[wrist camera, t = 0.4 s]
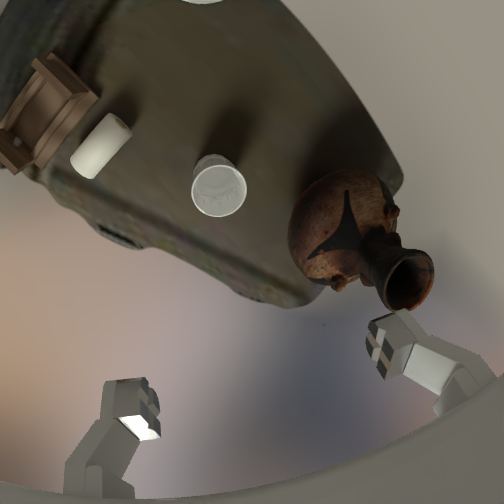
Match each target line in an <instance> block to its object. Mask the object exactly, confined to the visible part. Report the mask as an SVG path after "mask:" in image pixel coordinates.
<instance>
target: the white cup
mask: <svg viewBox="0 0 504 504" xmlns="http://www.w3.org/2000/svg"><path fill="white" fill-rule="evenodd" d="M246 193H247V186H246V182H245V179H244V177H243V176H242V174H241V173H240V172H239V171H238V170H237V168H236V167H235V166H234V165H233V164H232V163H231V162H230V161H229V160H227V159H226V158H225V157H224V156H222V155H218V154H211V155H206V156H204V157H203V158H202V159H200V160H199V161H198V162H197V164H196V166H195V168H194V173H193V179H192V199H193V201H194V203H195V205H196V207H197V208H198V209H199V210H200V211H202V212H203V213H205V214H207V215H209V216H214V217H222V216H226V215H229V214H231V213H233V212H235V211H236V210H237V209H238V208H239V207H240V206H241V205H242V204H243V202H244V200H245V197H246Z"/></svg>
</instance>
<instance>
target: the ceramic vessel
mask: <svg viewBox="0 0 504 504" xmlns="http://www.w3.org/2000/svg"><path fill="white" fill-rule="evenodd" d="M399 212H400V209H399V208H398V206H397V205H395V203H394V200H393V197H392V195H391V193H390V191H389V189H388V188H387V186H386V185H385V183H384V182H383V181H382V180H381V179H379V177H378V176H377V175H375V174H374V173H372V172H370V171H367V170H364V169H357V168H351V169H341V170H337V171H334V172H332V173H330V174H328V175H326V176H324V177H322V178H320V179H318V180H317V181H315V182H314V183H313V184H311V185H310V186H309V187H308V188H307V189H306V190H304V191H303V192H302V194H301V195H300V196H299V197H298V199H297V201H296V203H295V206H294V209H293V212H292V215H291V218H290V221H289V226H288V247H289V251H290V254H291V256H292V259H293V261H294V262H295V264H296V266H297V267H298V268H299V269H300V271H301V272H302V273H303V274H304V275H305V276H306V277H307V278H308V279H309V280H310V281H312V282H314V283H317V284H320V285H328V286H329V285H330V286H331V288H332V289H333V290H336V291H337V292H341V291H343V289H344V288H345V286H346V284H347V283H350V282H353V281H355V280H357V279H359V278H360V279H361V282H362V284H363V285H364V286H369V287H372V286H375V287H376V289H377V292H378V294H379V297H380V299H381V300H382V302H383V304H384V305H385V307H386V308H387V309H389V310H390V311H392V312H396V311H398V310H401V309H404V308H405V309H407V310H408V311H411V310H413V309H415V308H416V307H417V306H419V305H420V304H421V303H422V302H423V301H424V300H425V298H426V297H427V295H428V294H429V292H430V290H431V287H432V285H433V282H434V266H433V262H432V259H431V258H430V257H429V255H428V254H427V253H426V252H424V251H421V250H417V249H405V248H402V245H401V238H400V236H399V234H398V233H396V227H397V217H398V216H399Z"/></svg>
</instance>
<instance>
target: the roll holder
mask: <svg viewBox="0 0 504 504" xmlns="http://www.w3.org/2000/svg"><path fill="white" fill-rule="evenodd" d="M31 65H32V66H33V67H34V68H35V69H36V72H35V73H34V74H33V76H32V77H31V78H30V80H29V81H28V82H27V84H26V85H25V86H24V88H23V89H22V91H21V92H20V94H19V95H18V96H17V98H16V99H15V101H14V102H13V104H12V105H11V107H10V108H9V110H8V112H7V113H6V115H5V116H4V118H3V120H2V121H1V123H0V128H1V129H0V161H1V162H2V163H3V164H4V165H5V166H6V168H7V169H8V170H9V171H11V173H13V175H16V174H17V173H19V172H20V171H22V170H23V169H25V168H26V167H28V166H29V165H31V164H32V163H35V164H36V165H37V166H38V167H39V168H40V169H41V170H42V169H44V168H45V167H46V165H47V164H48V162H49V161H50V160H51V158H52V157H53V155H54V154H55V153H56V151H57V150H58V149H59V147H60V146H61V145H62V143H63V142H64V141H65V140H66V138H67V137H68V136H69V134H70V133H71V132H72V131H73V129H74V128H75V127H76V126H77V125H78V123H79V122H80V121H81V120H82V119H83V117H84V116H85V115H86V114H87V113H88V112H89V110H90V109H91V108H92V107H93V106H94V105H95V104H96V103H97V101H98V100H99V99H100V98H101V97H100V96H98V95H97V94H96V93H95V92H94V91H93V90H92V89H91V88H90V87H89V86H88V85H87V84H86V83H85V82H84V81H83V80H82V79H81V78H80V77H79V76H78V75H77V74H76V73H75V72H74V71H73V70H72V69H71V68H70V67H69V66H68V65H67V64H66V63H65V62H64V61H62V60H61V59H60V58H59V57H58V56H57V55H56V54H55V53H52V52H51V53H50V54H49V56H48V57H47V58H46V59H43V58H35V59H34V61H33V62H32V63H31Z"/></svg>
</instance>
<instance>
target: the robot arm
mask: <svg viewBox="0 0 504 504" xmlns="http://www.w3.org/2000/svg"><path fill="white" fill-rule="evenodd" d="M183 1H186V2H190V3H197V4H208V3H215V2H219V1H222V0H183ZM368 329H369V331H370V332H369V333H368V334H367V336H366V341H365V343H366V349H367V351H368V354H369V356H370V357H371V359H373V360H375V361H377V367H376V368H377V369H378V371H379V373H380V374H381V376H382V378H383V379H384V380H386V379H389V378H392V377H394V376H396V375H399V374H401V373H403V374H404V375H406V376H407V377H409V378H411V379H412V380H414V381H416V382H417V383H419V384H420V385H422V386H424V387H425V388H427V389H429V390H430V391H432V392H434V393H435V394H437V395H439V397H438V399H437V400H436V402H435V403H434V405H433V410H434V412H435V413H436V415H437V417H438V418H436V419H435V420H433V421H431V422H429V423H427V424H426V425H424V426H422V427H420V428H418V429H416V430H414V431H412V432H410V433H409V434H407V435H405V436H403V437H401V438H398V439H396V440H394V441H392V442H390V443H388V444H386V445H383V446H381V447H379V448H377V449H374V450H372V451H370V452H367V453H365V454H363V455H360V456H357V457H355V458H352V459H350V460H347V461H344V462H342V463H339V464H336V465H333V466H330V467H328V468H324V469H322V470H318V471H315V472H312V473H309V474H306V475H302V476H298V477H295V478H291V479H287V480H283V481H279V482H275V483H272V484H267V485H262V486H258V487H253V488H248V489H242V490H237V491H231V492H225V493H218V494H210V495H203V496H193V497H181V498H165V499H135V492H134V487H133V486H132V485H130V484H128V483H127V482H125V481H123V480H122V477H123V475H124V473H125V471H126V469H127V467H128V465H129V463H130V461H131V459H132V457H133V455H134V453H135V451H136V449H137V447H138V445H139V443H140V440H149V439H157V438H161V427H160V422H159V420H158V419H157V418H156V417H157V416H158V414H159V413H160V405H159V401H158V397H157V394H156V392H155V391H154V389H152V388H150V387H149V386H148V384H149V383H148V381H147V379H146V378H145V377H140V378H132V379H123V380H114V381H106V382H105V384H104V386H103V394H102V403H101V412H100V420H96V421H95V422H94V424H93V425H92V426H91V428H90V429H89V431H88V432H87V433H86V435H85V436H84V437H83V439H82V440H81V442H80V443H79V444H78V446H77V447H76V449H75V450H74V451H73V453H72V454H71V455H70V457H69V458H68V460H67V461H66V462H65V471H64V488H63V494H60V493H54V492H48V491H42V490H37V489H32V488H27V487H23V486H18V485H14V484H11V483H7V482H3V481H0V504H504V373H503V374H502V375H501V376H499V377H498V378H497V377H496V376H495V374H494V373H493V372H492V370H491V369H490V368H489V367H488V365H487V364H486V363H485V361H484V360H483V359H482V358H481V356H480V355H478V354H476V353H473V352H471V351H468V350H466V349H464V348H461V347H459V346H456V345H454V344H452V343H449V342H447V341H445V340H442V339H440V338H438V337H435V336H433V335H431V336H428V335H427V333H426V332H425V331H424V330H423V328H422V327H421V326H420V325H419V323H418V322H417V321H416V320H415V318H414V317H413V316H412V315H411V314H410V312H409V311H408V310H407V309H405V308H404V309H401V310H398V311H396V312H393V313H390V314H387V315H384V316H382V317H379V318H376V319H374V320H371V321H370V322H369V324H368Z"/></svg>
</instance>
